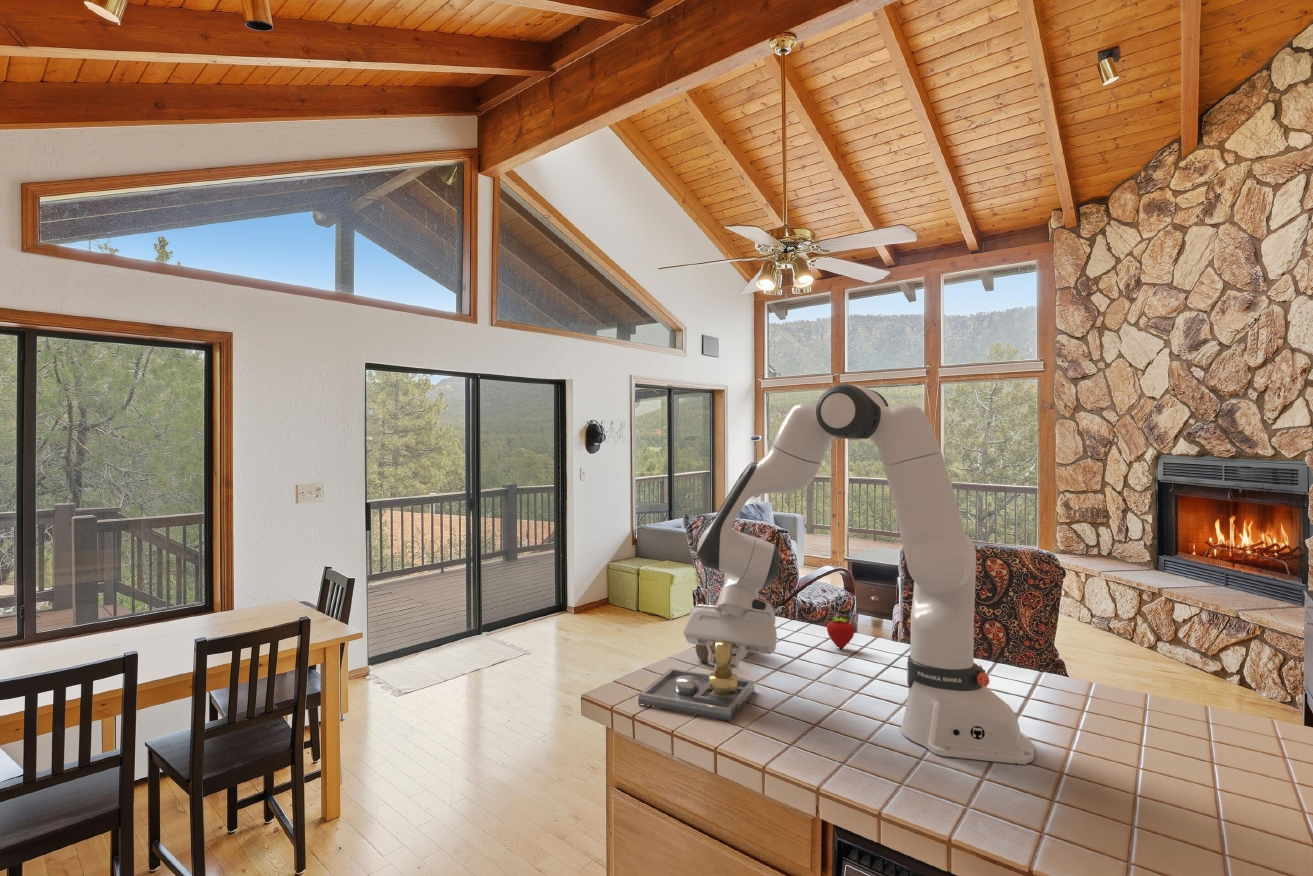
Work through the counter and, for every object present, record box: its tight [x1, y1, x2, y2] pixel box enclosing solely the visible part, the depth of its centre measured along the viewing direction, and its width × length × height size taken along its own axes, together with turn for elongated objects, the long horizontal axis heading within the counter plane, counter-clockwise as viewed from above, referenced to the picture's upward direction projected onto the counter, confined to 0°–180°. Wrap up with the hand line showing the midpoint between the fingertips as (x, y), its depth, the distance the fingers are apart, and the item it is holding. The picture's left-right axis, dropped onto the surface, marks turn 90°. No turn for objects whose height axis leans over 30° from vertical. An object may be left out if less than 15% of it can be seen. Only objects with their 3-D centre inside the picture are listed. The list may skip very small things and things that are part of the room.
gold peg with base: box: [708, 641, 738, 696], centre depth 140 cm, size 6×6×10 cm
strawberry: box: [826, 612, 855, 649], centre depth 179 cm, size 6×8×10 cm
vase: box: [695, 644, 715, 664], centre depth 168 cm, size 7×7×9 cm
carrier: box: [637, 668, 755, 722], centre depth 142 cm, size 20×18×4 cm
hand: (722, 664), depth 140 cm, fingers closed on gold peg with base, 3 cm apart
